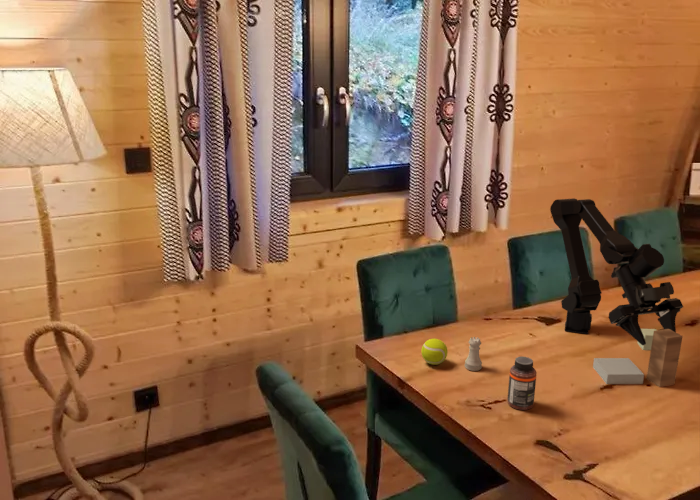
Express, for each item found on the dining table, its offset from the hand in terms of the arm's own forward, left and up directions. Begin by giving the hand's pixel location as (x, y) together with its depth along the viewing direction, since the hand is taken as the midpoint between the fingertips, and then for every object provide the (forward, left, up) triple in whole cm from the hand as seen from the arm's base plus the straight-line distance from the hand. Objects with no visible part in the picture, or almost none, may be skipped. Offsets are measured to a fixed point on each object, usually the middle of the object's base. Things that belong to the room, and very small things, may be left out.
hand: (659, 342), depth 168 cm
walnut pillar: (+1, -2, -10) cm, 10 cm away
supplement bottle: (-31, -25, -10) cm, 41 cm away
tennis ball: (-54, -11, -10) cm, 56 cm away
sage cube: (0, +19, -10) cm, 22 cm away
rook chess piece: (-44, -10, -10) cm, 46 cm away
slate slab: (-9, -2, -10) cm, 13 cm away
